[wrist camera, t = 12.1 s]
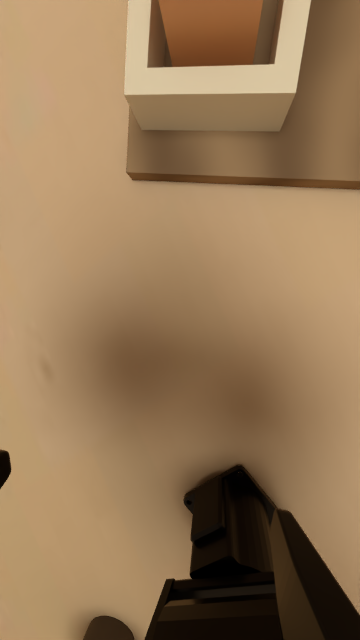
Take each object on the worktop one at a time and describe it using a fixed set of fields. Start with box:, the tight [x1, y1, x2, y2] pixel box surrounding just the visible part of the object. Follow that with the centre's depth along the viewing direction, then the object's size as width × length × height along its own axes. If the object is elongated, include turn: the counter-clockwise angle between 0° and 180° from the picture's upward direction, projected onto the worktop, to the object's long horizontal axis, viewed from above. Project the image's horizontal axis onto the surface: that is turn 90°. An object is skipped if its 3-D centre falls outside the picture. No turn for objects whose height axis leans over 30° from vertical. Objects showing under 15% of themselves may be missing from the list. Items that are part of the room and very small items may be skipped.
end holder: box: [124, 0, 311, 131], centre depth 12 cm, size 9×9×3 cm
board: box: [126, 0, 360, 189], centre depth 14 cm, size 22×14×1 cm, turn 84°
